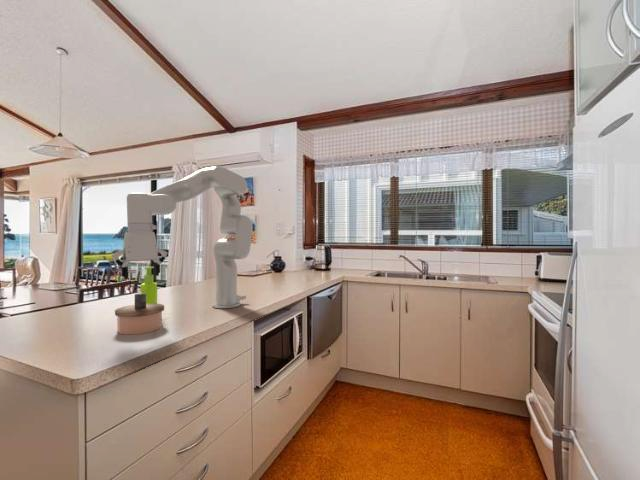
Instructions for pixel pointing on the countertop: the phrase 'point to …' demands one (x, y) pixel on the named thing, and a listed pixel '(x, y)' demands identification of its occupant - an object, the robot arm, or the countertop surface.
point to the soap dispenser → (149, 287)
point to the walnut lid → (139, 308)
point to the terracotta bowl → (139, 324)
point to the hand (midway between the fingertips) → (141, 276)
